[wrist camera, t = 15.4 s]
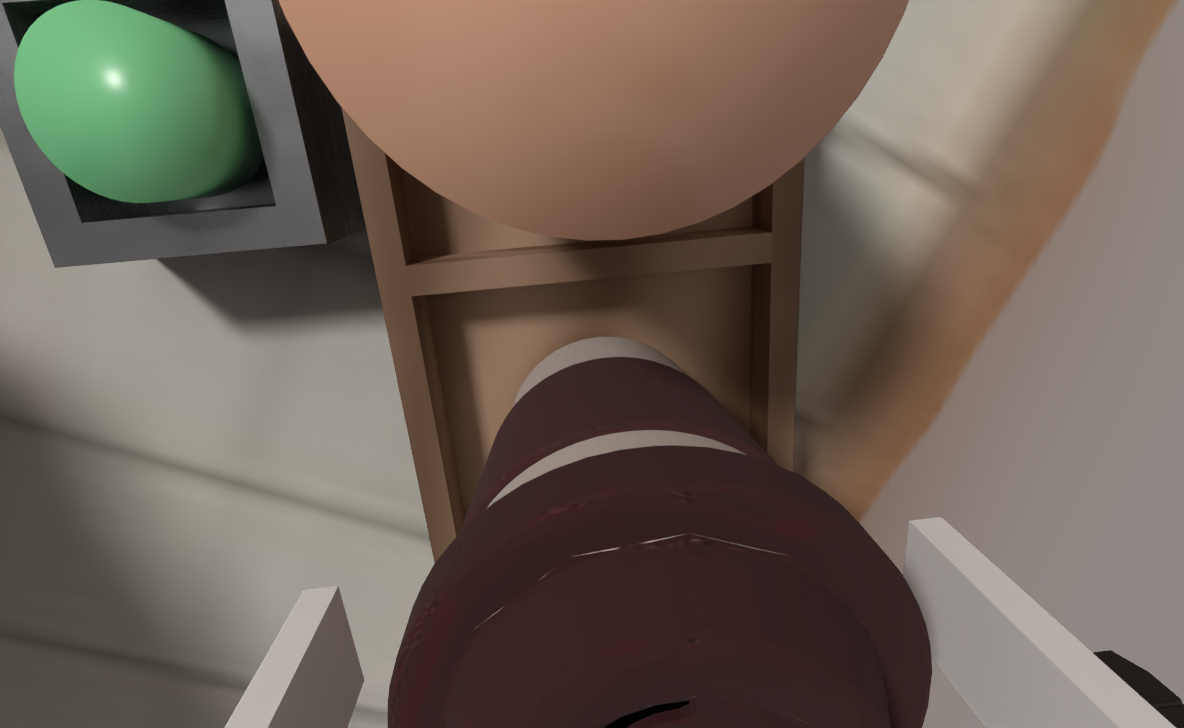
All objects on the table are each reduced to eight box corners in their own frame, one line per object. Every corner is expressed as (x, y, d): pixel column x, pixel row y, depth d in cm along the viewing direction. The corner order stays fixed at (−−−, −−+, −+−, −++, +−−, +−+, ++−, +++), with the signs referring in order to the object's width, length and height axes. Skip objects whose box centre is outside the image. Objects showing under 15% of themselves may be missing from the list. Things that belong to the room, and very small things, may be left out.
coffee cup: (696, 537, 25) (883, 1014, 11) (466, 514, 24) (344, 1012, 10) (752, 318, 22) (1111, 587, 8) (492, 279, 21) (369, 513, 7)
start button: (132, 203, 18) (56, 210, 16) (76, 33, 17) (-19, 7, 14) (285, 190, 19) (237, 194, 16) (244, 21, 17) (182, -8, 14)
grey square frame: (144, 249, 21) (55, 267, 17) (60, -5, 18) (-67, -49, 15) (366, 229, 21) (326, 243, 18) (315, -23, 19) (255, -71, 15)
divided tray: (458, 564, 26) (445, 616, 23) (316, -180, 17) (267, -253, 14) (762, 531, 27) (788, 577, 24) (775, -209, 18) (821, -286, 15)
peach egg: (455, 209, 20) (330, 266, 9) (406, -103, 17) (127, -621, 6) (710, 186, 20) (908, 213, 9) (706, -124, 18) (990, -653, 6)
